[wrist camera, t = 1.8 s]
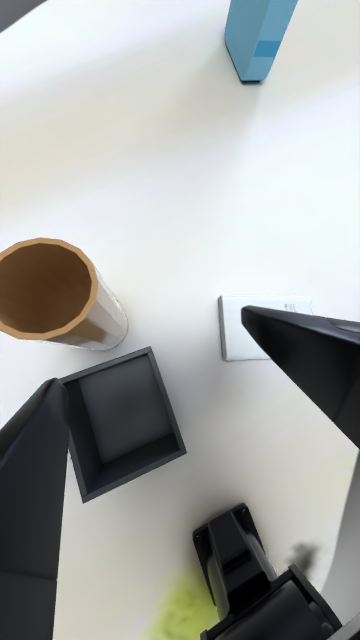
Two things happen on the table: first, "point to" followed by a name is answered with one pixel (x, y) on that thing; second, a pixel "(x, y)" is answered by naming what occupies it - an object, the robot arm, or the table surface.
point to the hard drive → (236, 336)
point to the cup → (57, 297)
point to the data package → (256, 34)
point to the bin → (119, 423)
